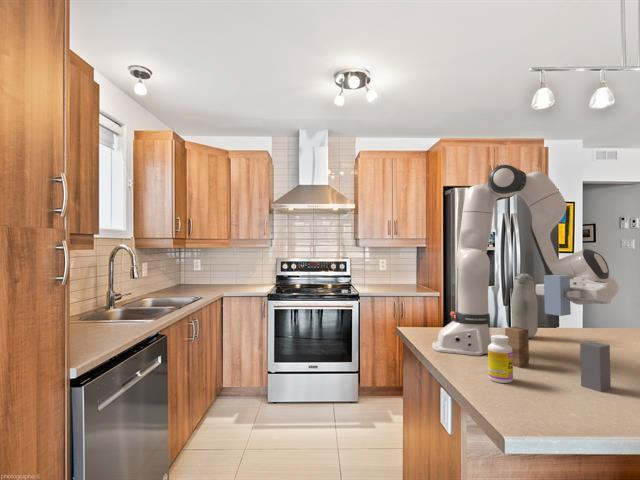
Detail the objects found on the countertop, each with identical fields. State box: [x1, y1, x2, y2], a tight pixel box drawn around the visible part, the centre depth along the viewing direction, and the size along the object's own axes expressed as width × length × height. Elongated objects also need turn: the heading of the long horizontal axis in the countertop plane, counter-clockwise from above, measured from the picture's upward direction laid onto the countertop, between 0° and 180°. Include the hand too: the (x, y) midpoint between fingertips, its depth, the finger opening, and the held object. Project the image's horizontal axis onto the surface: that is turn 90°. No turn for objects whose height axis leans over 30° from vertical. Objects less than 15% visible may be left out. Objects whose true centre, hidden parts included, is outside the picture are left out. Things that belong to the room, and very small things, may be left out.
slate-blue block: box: [543, 275, 572, 317], centre depth 119 cm, size 5×5×12 cm
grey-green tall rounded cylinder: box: [510, 273, 539, 339], centre depth 167 cm, size 10×10×28 cm
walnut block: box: [504, 326, 530, 369], centre depth 128 cm, size 5×5×12 cm
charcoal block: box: [579, 341, 612, 393], centre depth 107 cm, size 5×5×12 cm
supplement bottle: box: [487, 334, 514, 384], centre depth 113 cm, size 7×7×13 cm
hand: (555, 293), depth 119 cm, fingers closed on slate-blue block, 5 cm apart
